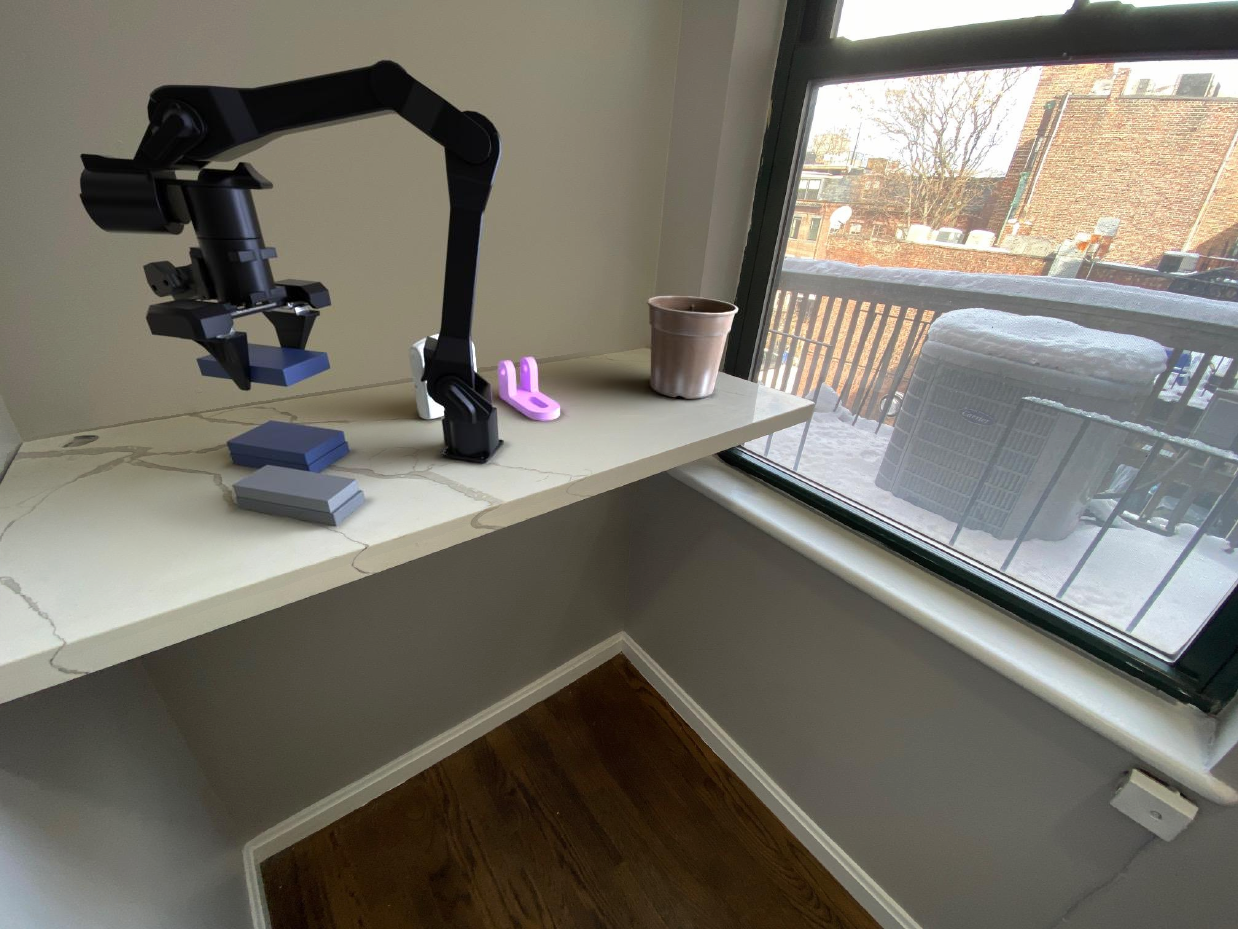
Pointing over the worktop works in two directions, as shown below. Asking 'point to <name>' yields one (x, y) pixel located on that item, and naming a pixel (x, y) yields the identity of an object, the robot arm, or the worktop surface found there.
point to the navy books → (288, 446)
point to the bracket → (525, 390)
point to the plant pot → (687, 343)
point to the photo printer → (424, 402)
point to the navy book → (273, 365)
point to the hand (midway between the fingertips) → (271, 379)
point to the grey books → (299, 494)
